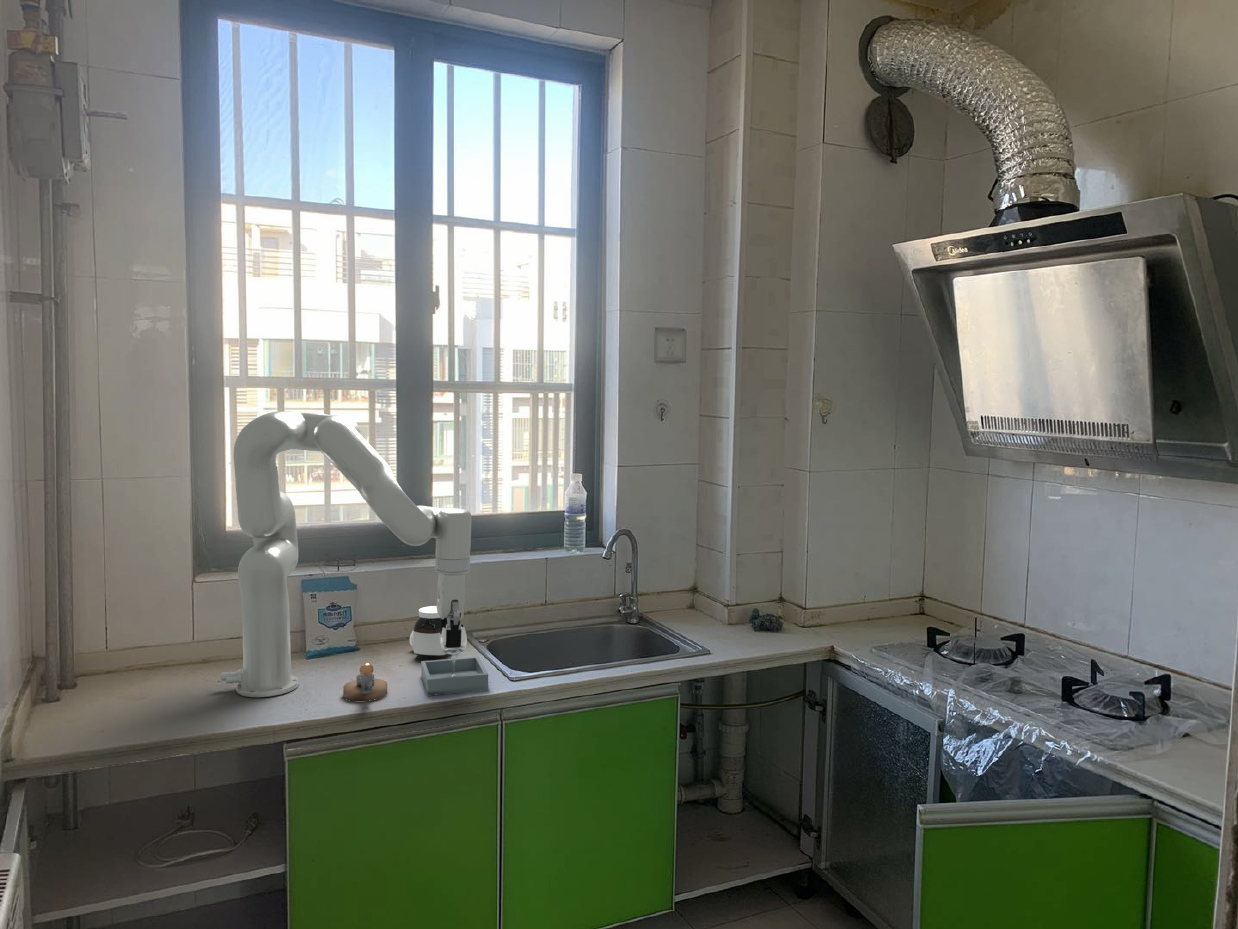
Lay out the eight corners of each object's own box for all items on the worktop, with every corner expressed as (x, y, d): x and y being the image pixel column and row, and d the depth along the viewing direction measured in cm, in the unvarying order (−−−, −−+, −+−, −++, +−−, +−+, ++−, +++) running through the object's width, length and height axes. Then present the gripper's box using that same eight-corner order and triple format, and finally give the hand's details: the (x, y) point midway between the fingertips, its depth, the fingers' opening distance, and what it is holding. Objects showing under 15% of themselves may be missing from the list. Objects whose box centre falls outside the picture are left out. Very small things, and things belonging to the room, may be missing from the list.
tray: (427, 695, 186) (427, 679, 185) (421, 676, 198) (421, 661, 198) (488, 689, 190) (488, 674, 189) (478, 671, 202) (478, 656, 202)
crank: (356, 682, 187) (356, 651, 186) (373, 681, 188) (373, 650, 187) (358, 698, 177) (357, 666, 177) (376, 697, 178) (375, 664, 178)
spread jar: (436, 664, 207) (436, 616, 206) (395, 658, 211) (394, 611, 210) (461, 650, 218) (461, 604, 217) (422, 645, 222) (421, 600, 221)
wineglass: (443, 674, 197) (443, 622, 196) (469, 675, 197) (469, 623, 196) (437, 683, 191) (437, 629, 190) (463, 683, 191) (463, 630, 190)
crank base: (343, 704, 180) (343, 694, 180) (343, 689, 189) (343, 680, 189) (388, 699, 183) (388, 690, 183) (386, 685, 192) (385, 676, 191)
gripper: (430, 557, 199) (428, 631, 200) (440, 573, 182) (437, 653, 184) (463, 557, 201) (461, 629, 202) (476, 572, 185) (473, 651, 186)
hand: (450, 641), depth 193 cm, fingers open, 9 cm apart
